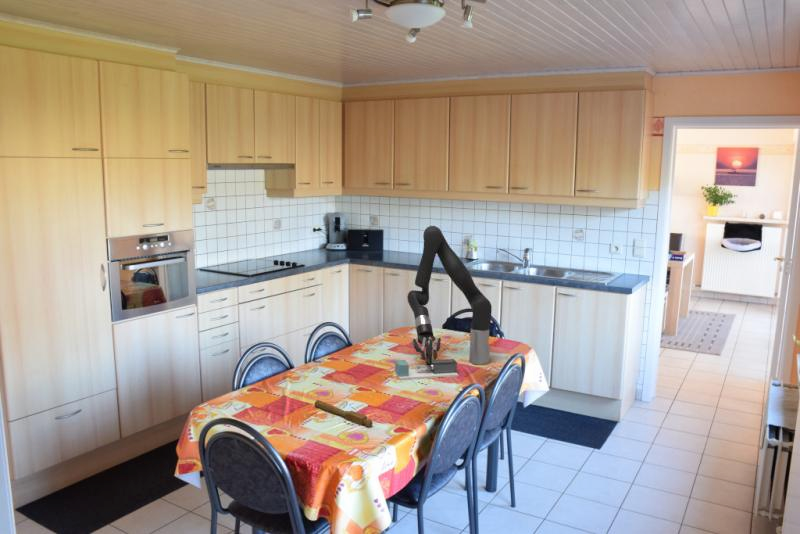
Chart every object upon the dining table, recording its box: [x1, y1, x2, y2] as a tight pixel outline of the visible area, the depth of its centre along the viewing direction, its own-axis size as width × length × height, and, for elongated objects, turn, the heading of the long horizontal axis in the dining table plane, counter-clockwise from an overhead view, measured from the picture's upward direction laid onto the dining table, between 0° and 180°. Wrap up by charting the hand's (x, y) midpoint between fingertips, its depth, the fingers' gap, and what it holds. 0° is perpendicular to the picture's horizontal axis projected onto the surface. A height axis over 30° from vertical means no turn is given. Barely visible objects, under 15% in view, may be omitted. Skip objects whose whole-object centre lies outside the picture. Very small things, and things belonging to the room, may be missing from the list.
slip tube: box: [415, 339, 434, 371], centre depth 300 cm, size 17×4×15 cm, turn 103°
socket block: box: [394, 359, 410, 377], centre depth 297 cm, size 4×8×5 cm, turn 13°
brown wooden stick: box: [314, 399, 373, 428], centre depth 249 cm, size 3×3×30 cm
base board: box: [393, 368, 460, 381], centre depth 300 cm, size 28×11×1 cm, turn 103°
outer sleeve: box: [431, 358, 458, 374], centre depth 302 cm, size 11×5×5 cm, turn 103°
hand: (429, 358), depth 297 cm, fingers open, 4 cm apart
